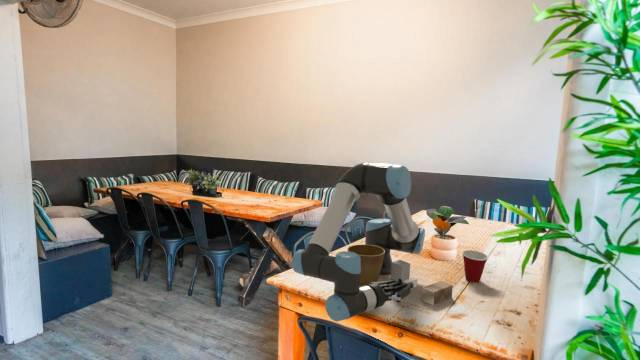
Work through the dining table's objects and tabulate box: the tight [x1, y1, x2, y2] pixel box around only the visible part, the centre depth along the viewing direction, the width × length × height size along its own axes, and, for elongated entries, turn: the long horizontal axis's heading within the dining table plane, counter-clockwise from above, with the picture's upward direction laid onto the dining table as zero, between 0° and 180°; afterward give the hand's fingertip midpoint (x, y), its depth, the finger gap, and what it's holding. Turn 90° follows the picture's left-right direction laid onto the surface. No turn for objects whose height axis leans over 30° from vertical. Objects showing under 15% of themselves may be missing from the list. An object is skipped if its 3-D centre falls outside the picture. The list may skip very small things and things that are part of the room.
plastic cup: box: [461, 249, 490, 284], centre depth 159 cm, size 11×11×12 cm
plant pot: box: [346, 243, 385, 287], centre depth 146 cm, size 15×15×16 cm
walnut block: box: [421, 280, 454, 306], centre depth 139 cm, size 5×5×12 cm
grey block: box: [390, 259, 411, 282], centre depth 144 cm, size 5×5×12 cm
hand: (415, 281), depth 130 cm, fingers closed
